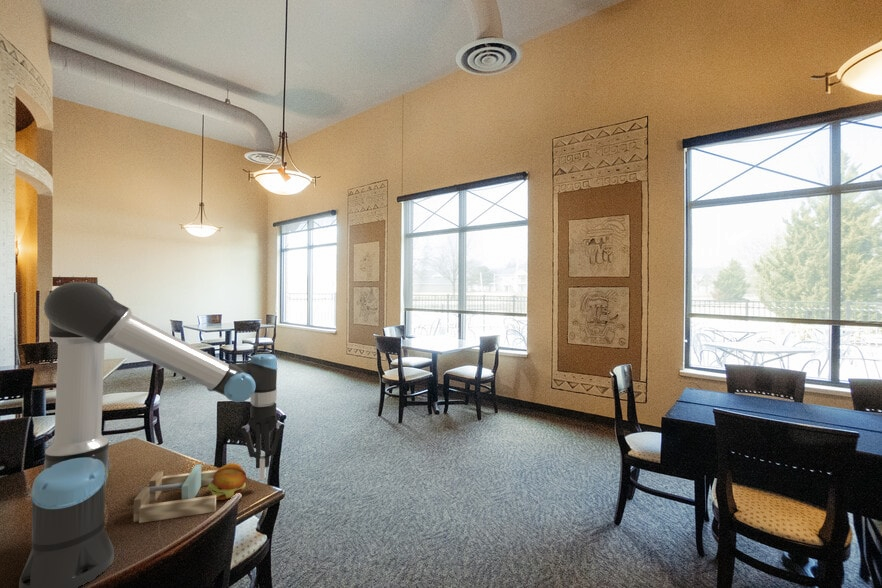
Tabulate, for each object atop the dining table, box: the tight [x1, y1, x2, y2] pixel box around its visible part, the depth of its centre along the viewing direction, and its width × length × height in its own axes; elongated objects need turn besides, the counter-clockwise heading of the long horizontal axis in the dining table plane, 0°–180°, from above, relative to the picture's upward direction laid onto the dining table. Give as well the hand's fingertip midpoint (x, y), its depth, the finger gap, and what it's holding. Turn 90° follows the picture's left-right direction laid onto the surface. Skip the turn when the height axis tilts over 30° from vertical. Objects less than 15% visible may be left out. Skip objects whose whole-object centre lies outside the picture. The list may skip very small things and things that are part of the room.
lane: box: [133, 469, 218, 524], centre depth 117 cm, size 20×19×6 cm
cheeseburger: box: [207, 462, 248, 501], centre depth 121 cm, size 10×11×10 cm
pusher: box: [139, 463, 202, 500], centre depth 115 cm, size 14×14×7 cm
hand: (262, 477), depth 124 cm, fingers closed
